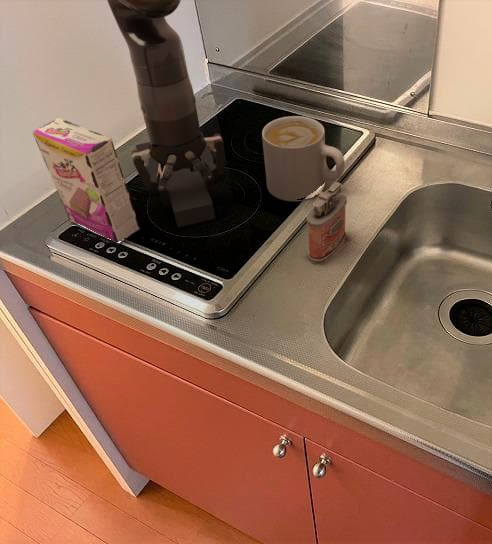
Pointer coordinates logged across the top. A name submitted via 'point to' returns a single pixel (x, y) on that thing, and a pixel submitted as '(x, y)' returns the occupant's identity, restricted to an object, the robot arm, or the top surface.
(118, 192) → the candy bar box
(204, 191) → the tab pad
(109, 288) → the top surface
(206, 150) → the notch mat
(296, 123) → the coffee mug
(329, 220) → the lighter
